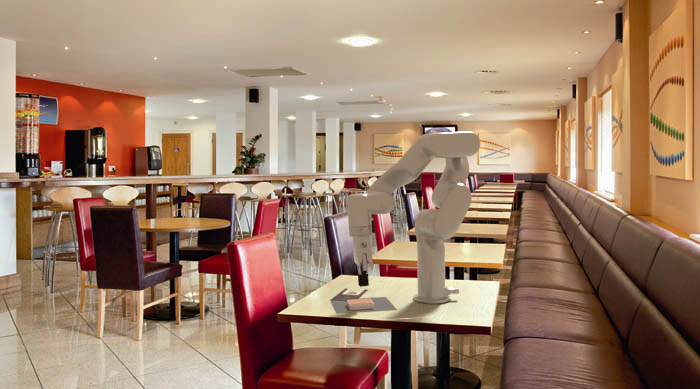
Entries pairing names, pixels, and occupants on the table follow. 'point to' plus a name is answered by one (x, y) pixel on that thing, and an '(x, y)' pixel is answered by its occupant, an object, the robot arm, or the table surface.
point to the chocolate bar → (349, 294)
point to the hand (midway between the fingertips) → (363, 285)
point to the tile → (360, 304)
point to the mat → (379, 305)
